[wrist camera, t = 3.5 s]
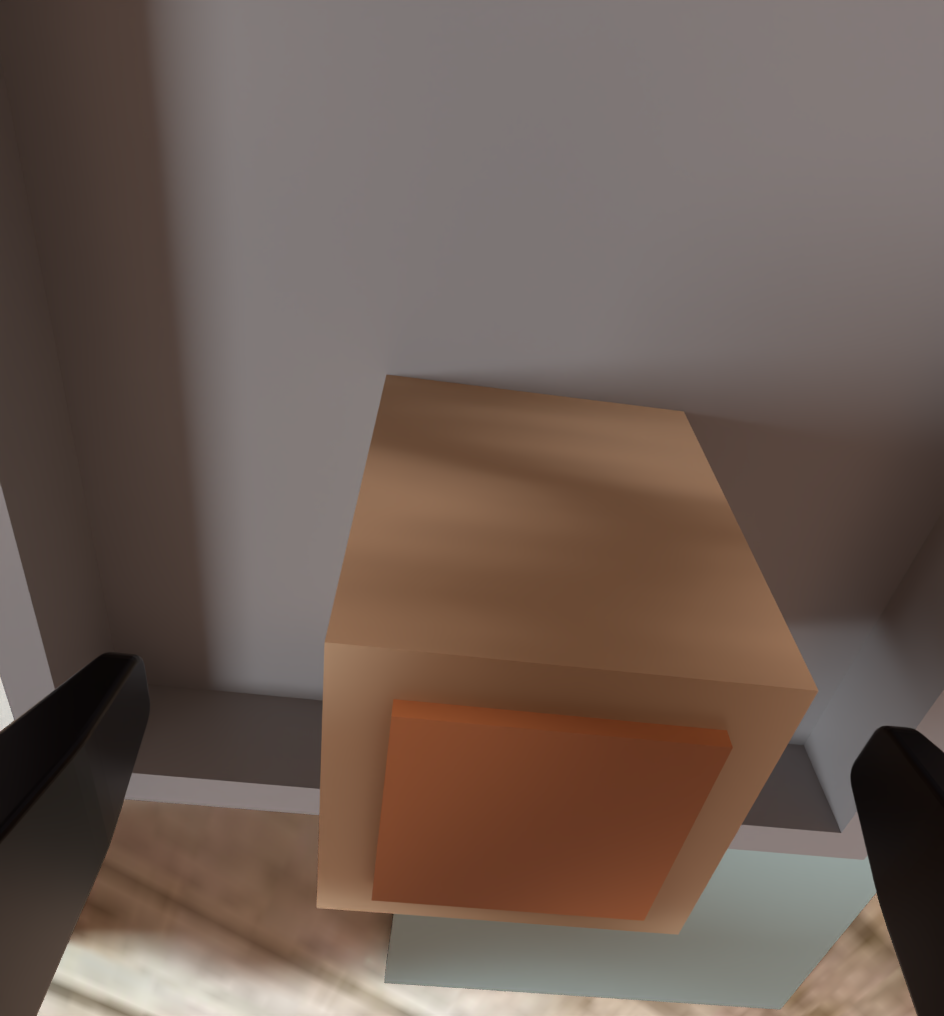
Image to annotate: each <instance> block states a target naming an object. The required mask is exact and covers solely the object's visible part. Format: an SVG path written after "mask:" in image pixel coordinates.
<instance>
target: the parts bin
mask: <svg viewBox="0 0 944 1016" xmlns="http://www.w3.org/2000/svg"><path fill="white" fill-rule="evenodd" d="M386 375H394V376H402V377H410V378H418V379H426V380H434V381H442V382H450V383H458V384H466V385H474V386H482V387H491V388H499V389H507V390H515V391H523V392H531V393H539V394H547V395H555V396H563V397H571V398H579V399H587V400H595V401H604V402H612V403H620V404H628V405H636V406H644V407H652V408H660V409H668V410H676V411H684V413H685V415H686V417H687V419H688V421H689V423H690V425H691V427H692V429H693V432H694V434H695V436H696V438H697V440H698V442H699V444H700V446H701V448H702V450H703V452H704V454H705V456H706V458H707V461H708V463H709V465H710V467H711V469H712V471H713V473H714V475H715V477H716V479H717V481H718V483H719V485H720V487H721V490H722V492H723V494H724V496H725V498H726V500H727V502H728V504H729V506H730V508H731V510H732V512H733V514H734V516H735V519H736V521H737V523H738V525H739V527H740V529H741V531H742V533H743V535H744V537H745V539H746V541H747V543H748V545H749V548H750V550H751V552H752V554H753V556H754V558H755V560H756V562H757V564H758V566H759V568H760V570H761V572H762V574H763V577H764V579H765V581H766V583H767V585H768V587H769V589H770V591H771V593H772V595H773V597H774V599H775V601H776V603H777V606H778V608H779V610H780V612H781V614H782V616H783V618H784V620H785V622H786V624H787V626H788V628H789V630H790V633H791V635H792V637H793V639H794V641H795V643H796V645H797V647H798V649H799V651H800V653H801V655H802V657H803V659H804V662H805V664H806V666H807V668H808V670H809V672H810V674H811V676H812V678H813V680H814V682H815V684H816V686H817V688H818V693H817V694H816V696H815V698H814V700H813V701H812V703H811V705H810V707H809V708H808V710H807V712H806V713H805V715H804V717H803V719H802V720H801V722H800V724H799V726H798V727H797V729H796V731H795V733H794V734H793V736H792V738H791V740H790V741H789V743H788V745H787V747H786V748H785V750H784V752H783V753H782V755H781V757H780V759H779V760H778V762H777V764H776V766H775V767H774V769H773V771H772V773H771V774H770V776H769V778H768V780H767V781H766V783H765V785H764V786H763V788H762V790H761V792H760V793H759V795H758V797H757V799H756V800H755V802H754V804H753V806H752V807H751V809H750V811H749V813H748V814H747V816H746V818H745V819H744V821H743V823H742V825H741V826H740V828H739V830H738V832H737V833H736V835H735V837H734V839H733V840H732V842H731V844H730V846H729V847H728V849H737V850H749V851H761V852H773V853H785V854H798V855H810V856H822V857H834V858H846V859H858V860H864V859H865V858H866V857H867V851H866V847H865V842H864V838H863V834H862V830H861V825H860V821H859V817H858V813H857V809H856V804H855V800H854V796H853V792H852V787H851V780H850V774H851V768H852V765H853V763H854V761H855V760H856V758H857V757H858V755H859V754H860V752H861V751H862V749H863V748H864V746H865V745H866V743H867V742H868V740H869V739H870V737H871V736H872V734H873V733H874V732H875V730H876V729H878V728H879V727H881V726H886V725H887V726H898V727H908V728H912V729H915V730H917V731H919V732H920V733H922V734H923V735H924V736H925V737H926V738H928V739H929V740H930V741H931V742H932V743H934V744H935V745H936V746H937V747H938V748H940V749H941V750H942V751H943V752H944V0H0V677H1V680H2V683H3V686H4V689H5V692H6V696H7V699H8V702H9V705H10V708H11V711H12V714H13V717H14V720H16V719H17V718H18V717H20V716H21V715H22V714H24V713H25V712H26V711H27V710H29V709H30V708H31V707H33V706H34V705H35V704H37V703H38V702H39V701H40V700H42V699H43V698H44V697H46V696H47V695H48V694H50V693H51V692H52V691H53V690H55V689H56V688H57V687H59V686H60V685H61V684H63V683H64V682H65V681H66V680H68V679H69V678H70V677H72V676H73V675H74V674H76V673H77V672H78V671H79V670H81V669H82V668H83V667H85V666H86V665H87V664H89V663H90V662H91V661H92V660H94V659H95V658H96V657H98V656H99V655H101V654H103V653H106V652H118V653H128V654H136V655H139V656H140V657H141V658H142V659H143V661H144V665H145V671H146V678H147V684H148V690H149V696H150V714H149V719H148V723H147V726H146V729H145V733H144V736H143V739H142V742H141V746H140V749H139V752H138V756H137V759H136V762H135V765H134V769H133V772H132V775H131V778H130V782H129V785H128V788H127V791H126V795H125V798H124V799H129V800H141V801H153V802H165V803H177V804H189V805H202V806H214V807H226V808H238V809H250V810H262V811H275V812H287V813H299V814H311V815H319V807H320V774H321V741H322V709H323V676H324V643H325V638H326V634H327V629H328V625H329V621H330V616H331V612H332V608H333V603H334V599H335V595H336V590H337V586H338V582H339V577H340V573H341V569H342V564H343V560H344V556H345V551H346V547H347V543H348V538H349V534H350V530H351V525H352V521H353V517H354V512H355V508H356V504H357V500H358V495H359V491H360V487H361V482H362V478H363V474H364V469H365V465H366V461H367V456H368V452H369V448H370V443H371V439H372V435H373V430H374V426H375V422H376V417H377V413H378V409H379V404H380V400H381V396H382V391H383V387H384V383H385V378H386Z"/></svg>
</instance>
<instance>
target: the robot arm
mask: <svg viewBox="0 0 944 1016" xmlns="http://www.w3.org/2000/svg"><path fill="white" fill-rule="evenodd" d="M149 714H150V696H149V690H148V684H147V678H146V671H145V665H144V661H143V659H142V658H141V657H140V656H139V655H136V654H128V653H118V652H106V653H103V654H101V655H99V656H98V657H96V658H95V659H94V660H92V661H91V662H90V663H89V664H87V665H86V666H85V667H83V668H82V669H81V670H79V671H78V672H77V673H76V674H74V675H73V676H72V677H70V678H69V679H68V680H66V681H65V682H64V683H63V684H61V685H60V686H59V687H57V688H56V689H55V690H53V691H52V692H51V693H50V694H48V695H47V696H46V697H44V698H43V699H42V700H40V701H39V702H38V703H37V704H35V705H34V706H33V707H31V708H30V709H29V710H27V711H26V712H25V713H24V714H22V715H21V716H20V717H18V718H17V719H16V720H14V721H13V722H12V723H11V724H9V725H8V726H7V727H5V728H4V729H3V730H1V731H0V1016H37V1014H38V1011H39V1009H40V1007H41V1004H42V1002H43V1000H44V998H45V995H46V993H47V991H48V988H49V986H50V984H51V981H52V979H53V977H54V974H55V972H56V970H57V967H58V965H59V963H60V960H61V958H62V956H63V954H64V951H65V949H66V947H67V944H68V942H69V940H70V937H71V935H72V933H73V930H74V928H75V926H76V923H77V921H78V919H79V916H80V914H81V912H82V910H83V907H84V905H85V903H86V900H87V898H88V896H89V893H90V891H91V889H92V886H93V884H94V882H95V879H96V877H97V875H98V872H99V870H100V868H101V865H102V863H103V860H104V858H105V855H106V853H107V850H108V848H109V845H110V842H111V839H112V836H113V833H114V830H115V827H116V824H117V821H118V818H119V814H120V811H121V808H122V805H123V801H124V798H125V795H126V791H127V788H128V785H129V782H130V778H131V775H132V772H133V769H134V765H135V762H136V759H137V756H138V752H139V749H140V746H141V742H142V739H143V736H144V733H145V729H146V726H147V723H148V719H149ZM850 780H851V787H852V792H853V796H854V800H855V804H856V809H857V813H858V817H859V821H860V825H861V830H862V834H863V838H864V842H865V847H866V851H867V855H868V859H869V864H870V868H871V872H872V876H873V881H874V885H875V888H876V892H877V896H878V900H879V903H880V907H881V910H882V913H883V916H884V919H885V922H886V926H887V929H888V931H889V934H890V937H891V940H892V943H893V946H894V949H895V952H896V955H897V958H898V961H899V964H900V966H901V969H902V972H903V975H904V978H905V981H906V984H907V987H908V990H909V993H910V996H911V999H912V1002H913V1004H914V1007H915V1010H916V1013H917V1016H944V752H943V751H942V750H941V749H940V748H938V747H937V746H936V745H935V744H934V743H932V742H931V741H930V740H929V739H928V738H926V737H925V736H924V735H923V734H922V733H920V732H919V731H917V730H915V729H912V728H908V727H898V726H887V725H886V726H881V727H879V728H878V729H876V730H875V732H874V733H873V734H872V736H871V737H870V739H869V740H868V742H867V743H866V745H865V746H864V748H863V749H862V751H861V752H860V754H859V755H858V757H857V758H856V760H855V761H854V763H853V765H852V768H851V774H850Z"/></svg>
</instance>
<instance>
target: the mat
mask: <svg viewBox="0 0 944 1016" xmlns="http://www.w3.org/2000/svg"><path fill="white" fill-rule="evenodd" d="M875 894H876V888H875V885H874V881H873V876H872V872H871V868H870V864H869V859H868V855H867V857H866V858H865V859H864V860H858V859H846V858H834V857H822V856H810V855H798V854H785V853H773V852H761V851H749V850H737V849H727V851H726V853H725V854H724V856H723V858H722V859H721V861H720V863H719V865H718V866H717V868H716V870H715V872H714V873H713V875H712V877H711V879H710V880H709V882H708V884H707V886H706V887H705V889H704V891H703V892H702V894H701V896H700V898H699V899H698V901H697V903H696V905H695V906H694V908H693V910H692V912H691V913H690V915H689V917H688V919H687V920H686V922H685V924H684V925H683V927H682V929H681V931H680V932H679V934H678V935H676V934H663V933H649V932H635V931H622V930H608V929H595V928H581V927H567V926H554V925H540V924H527V923H513V922H499V921H486V920H472V919H459V918H445V917H432V916H418V915H404V914H393V920H392V927H391V934H390V941H389V948H388V955H387V962H386V971H385V982H384V983H393V984H407V985H422V986H437V987H452V988H467V989H482V990H497V991H512V992H527V993H542V994H556V995H571V996H586V997H601V998H616V999H631V1000H646V1001H661V1002H676V1003H691V1004H706V1005H720V1006H735V1007H750V1008H765V1009H781V1008H782V1007H783V1006H784V1004H785V1003H786V1002H787V1001H788V1000H789V998H790V997H791V996H792V995H793V994H794V992H795V991H796V990H797V989H798V987H799V986H800V985H801V984H802V983H803V981H804V980H805V979H806V978H807V976H808V975H809V974H810V973H811V972H812V970H813V969H814V968H815V967H816V965H817V964H818V963H819V962H820V961H821V959H822V958H823V957H824V956H825V955H826V953H827V952H828V951H829V950H830V948H831V947H832V946H833V945H834V944H835V942H836V941H837V940H838V939H839V937H840V936H841V935H842V934H843V933H844V931H845V930H846V929H847V928H848V927H849V925H850V924H851V923H852V922H853V920H854V919H855V918H856V917H857V916H858V914H859V913H860V912H861V911H862V909H863V908H864V907H865V906H866V905H867V903H868V902H869V901H870V900H871V899H872V897H873V896H874V895H875Z"/></svg>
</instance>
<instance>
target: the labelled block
mask: <svg viewBox="0 0 944 1016" xmlns="http://www.w3.org/2000/svg"><path fill="white" fill-rule="evenodd" d="M817 693H818V688H817V686H816V684H815V682H814V680H813V678H812V676H811V674H810V672H809V670H808V668H807V666H806V664H805V662H804V659H803V657H802V655H801V653H800V651H799V649H798V647H797V645H796V643H795V641H794V639H793V637H792V635H791V633H790V630H789V628H788V626H787V624H786V622H785V620H784V618H783V616H782V614H781V612H780V610H779V608H778V606H777V603H776V601H775V599H774V597H773V595H772V593H771V591H770V589H769V587H768V585H767V583H766V581H765V579H764V577H763V574H762V572H761V570H760V568H759V566H758V564H757V562H756V560H755V558H754V556H753V554H752V552H751V550H750V548H749V545H748V543H747V541H746V539H745V537H744V535H743V533H742V531H741V529H740V527H739V525H738V523H737V521H736V519H735V516H734V514H733V512H732V510H731V508H730V506H729V504H728V502H727V500H726V498H725V496H724V494H723V492H722V490H721V487H720V485H719V483H718V481H717V479H716V477H715V475H714V473H713V471H712V469H711V467H710V465H709V463H708V461H707V458H706V456H705V454H704V452H703V450H702V448H701V446H700V444H699V442H698V440H697V438H696V436H695V434H694V432H693V429H692V427H691V425H690V423H689V421H688V419H687V417H686V415H685V413H684V411H676V410H668V409H660V408H652V407H644V406H636V405H628V404H620V403H612V402H604V401H595V400H587V399H579V398H571V397H563V396H555V395H547V394H539V393H531V392H523V391H515V390H507V389H499V388H491V387H482V386H474V385H466V384H458V383H450V382H442V381H434V380H426V379H418V378H410V377H402V376H394V375H386V378H385V383H384V387H383V391H382V396H381V400H380V404H379V409H378V413H377V417H376V422H375V426H374V430H373V435H372V439H371V443H370V448H369V452H368V456H367V461H366V465H365V469H364V474H363V478H362V482H361V487H360V491H359V495H358V500H357V504H356V508H355V512H354V517H353V521H352V525H351V530H350V534H349V538H348V543H347V547H346V551H345V556H344V560H343V564H342V569H341V573H340V577H339V582H338V586H337V590H336V595H335V599H334V603H333V608H332V612H331V616H330V621H329V625H328V629H327V634H326V638H325V643H324V676H323V709H322V741H321V774H320V807H319V840H318V873H317V906H316V908H323V909H336V910H350V911H364V912H377V913H391V914H404V915H418V916H432V917H445V918H459V919H472V920H486V921H499V922H513V923H527V924H540V925H554V926H567V927H581V928H595V929H608V930H622V931H635V932H649V933H663V934H676V935H678V934H679V932H680V931H681V929H682V927H683V925H684V924H685V922H686V920H687V919H688V917H689V915H690V913H691V912H692V910H693V908H694V906H695V905H696V903H697V901H698V899H699V898H700V896H701V894H702V892H703V891H704V889H705V887H706V886H707V884H708V882H709V880H710V879H711V877H712V875H713V873H714V872H715V870H716V868H717V866H718V865H719V863H720V861H721V859H722V858H723V856H724V854H725V853H726V851H727V849H728V847H729V846H730V844H731V842H732V840H733V839H734V837H735V835H736V833H737V832H738V830H739V828H740V826H741V825H742V823H743V821H744V819H745V818H746V816H747V814H748V813H749V811H750V809H751V807H752V806H753V804H754V802H755V800H756V799H757V797H758V795H759V793H760V792H761V790H762V788H763V786H764V785H765V783H766V781H767V780H768V778H769V776H770V774H771V773H772V771H773V769H774V767H775V766H776V764H777V762H778V760H779V759H780V757H781V755H782V753H783V752H784V750H785V748H786V747H787V745H788V743H789V741H790V740H791V738H792V736H793V734H794V733H795V731H796V729H797V727H798V726H799V724H800V722H801V720H802V719H803V717H804V715H805V713H806V712H807V710H808V708H809V707H810V705H811V703H812V701H813V700H814V698H815V696H816V694H817Z"/></svg>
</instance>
